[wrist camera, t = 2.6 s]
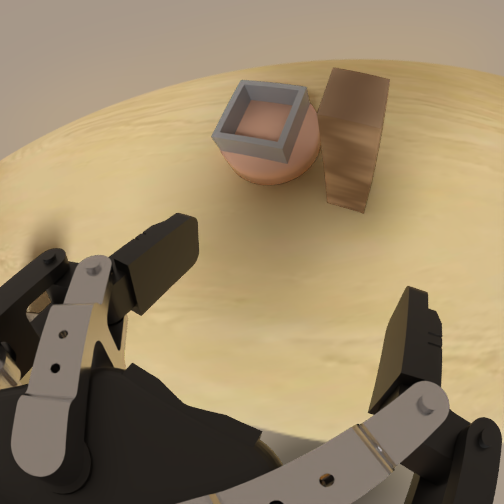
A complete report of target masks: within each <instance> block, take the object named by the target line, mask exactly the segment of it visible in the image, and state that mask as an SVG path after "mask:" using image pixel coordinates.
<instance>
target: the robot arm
mask: <svg viewBox="0 0 504 504" xmlns="http://www.w3.org/2000/svg"><path fill="white" fill-rule="evenodd" d="M198 255H199V241H198V222H197V219H196V218H195V217H191V216H188V215H185V214H181V213H176V214H174V215H173V216H171V217H170V218H169V219H167V220H166V221H163V222H161V223H158V224H155V225H153V226H151V227H150V228H148V229H147V230H145V231H144V232H143V234H140V235H138V236H137V237H135V239H133V240H131V241H130V242H128V243H127V244H126V245H124V246H123V247H122V248H120V249H119V250H118V251H116V252H115V253H113V254H112V255H111V256H109V257H107V256H104V255H94V256H90V257H88V258H86V259H84V260H82V261H81V262H80V263H75V262H69V261H68V259H67V256H66V253H65V251H64V250H62V249H59V248H55V249H50V250H47V251H45V252H44V253H42V254H41V255H39V256H38V257H37V258H35V259H34V260H33V261H32V262H30V263H29V264H28V265H27V266H25V267H24V268H23V269H22V270H20V271H19V272H18V273H17V274H15V275H14V276H13V277H12V278H11V279H9V280H8V281H7V282H6V283H5V284H4V285H2V286H1V287H0V504H351V503H353V502H354V501H355V500H357V499H358V498H360V497H361V496H363V495H364V494H366V493H367V492H368V491H370V490H371V489H372V488H374V487H375V486H376V485H377V484H379V483H380V482H382V481H383V480H384V479H385V478H387V477H388V476H389V475H390V474H391V473H392V472H393V471H394V468H395V467H396V466H397V465H398V464H399V463H400V464H401V465H403V466H405V467H406V468H408V469H409V470H411V471H413V472H414V475H413V479H412V481H411V485H410V488H409V491H408V494H407V497H406V499H405V502H404V504H493V500H494V495H495V489H496V484H497V478H498V472H499V463H500V456H501V446H502V436H501V432H500V429H499V427H498V426H497V424H496V423H495V422H494V421H493V420H491V419H489V418H485V417H483V418H478V419H476V420H475V421H474V422H472V423H469V422H468V421H466V420H465V419H463V418H461V417H460V416H458V415H457V414H455V413H454V412H453V411H451V410H450V409H449V400H448V397H447V395H446V393H445V392H444V390H443V389H442V388H441V376H442V349H441V347H442V338H441V337H442V323H441V321H440V319H439V316H438V314H437V312H436V311H434V310H431V309H428V293H427V292H425V291H422V290H419V289H416V288H413V287H410V286H407V287H406V289H405V290H404V292H403V294H402V297H401V299H400V301H399V303H398V305H397V307H396V309H395V311H394V313H393V315H392V317H391V319H390V321H389V323H388V326H387V329H386V333H385V339H384V344H383V349H382V355H381V360H380V364H379V369H378V374H377V378H376V382H375V387H374V391H373V395H372V399H371V403H370V407H369V410H368V413H370V414H373V416H372V417H371V418H369V419H368V420H366V421H365V422H363V423H362V424H360V425H359V424H356V425H354V426H352V427H351V428H349V429H347V430H346V431H344V432H343V433H341V434H339V435H338V436H336V437H335V438H333V439H331V440H330V441H328V442H326V443H324V444H323V445H321V446H319V447H317V448H316V449H314V450H312V451H310V452H308V453H307V454H305V455H303V456H301V457H299V458H297V459H295V460H293V461H291V462H290V463H287V464H285V465H283V464H282V462H281V461H280V459H279V458H278V456H277V455H276V454H275V453H274V451H273V450H271V449H270V448H269V447H268V446H267V445H266V444H265V443H264V442H262V441H261V440H260V437H261V434H262V431H260V430H258V429H256V428H253V427H251V426H249V425H246V424H244V423H242V422H240V421H238V420H235V419H233V418H231V417H229V416H227V415H223V414H219V413H215V412H210V411H206V410H202V409H198V408H195V407H191V406H188V405H186V404H184V403H183V402H182V401H181V400H179V399H178V398H177V397H176V396H175V395H174V394H173V393H172V392H171V391H170V390H169V389H168V388H167V387H166V386H165V385H164V384H163V383H162V382H161V381H160V380H159V379H158V378H156V377H155V376H153V375H151V374H150V373H148V372H146V371H145V370H143V369H142V368H140V367H138V366H137V365H135V364H134V363H132V364H131V365H130V366H129V367H128V368H127V369H126V365H125V345H126V334H127V325H128V316H127V313H128V312H129V311H130V310H132V311H134V312H135V313H137V314H139V315H141V316H142V315H143V314H144V313H145V312H146V311H147V310H148V309H149V308H150V307H151V306H152V305H153V304H154V303H155V302H156V301H157V300H158V299H159V298H160V297H161V296H162V295H163V294H164V293H165V292H166V291H167V290H168V289H169V288H170V287H171V286H172V285H173V284H174V283H176V282H177V281H178V280H179V279H180V278H181V277H182V276H183V275H184V274H185V273H186V272H187V271H188V270H189V269H190V268H191V267H192V266H193V265H194V264H195V262H196V261H197V258H198ZM45 291H46V292H47V294H48V296H49V298H50V300H51V303H50V304H49V305H48V306H47V307H46V308H45V309H44V310H43V311H42V312H40V313H39V314H38V315H37V316H36V317H35V318H34V319H33V320H32V321H31V322H29V320H28V318H27V316H26V311H27V308H28V306H29V305H30V304H31V303H32V302H33V301H34V300H36V299H37V298H38V297H39V296H40V295H41V294H42V293H43V292H45ZM32 367H33V368H32ZM31 368H32V372H31V376H30V381H29V384H25V385H22V384H21V383H20V382H19V381H20V380H21V379H22V378H23V377H24V375H25V374H26V373H27V372H28V371H29V370H30V369H31Z"/></svg>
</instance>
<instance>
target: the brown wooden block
mask: <svg viewBox="0 0 504 504" xmlns="http://www.w3.org/2000/svg"><path fill="white" fill-rule="evenodd" d="M389 82H390V79H386V78H382V77H378V76H374V75H369V74H365V73H360V72H355V71H350V70H345V69H339V68H333V69H332V72H331V75H330V78H329V81H328V83H327V86H326V89H325V92H324V95H323V98H322V101H321V104H320V107H319V109H318V112H317V118H318V125H319V132H320V139H321V147H322V155H323V164H324V173H325V182H326V193H327V203H331V204H334V205H338V206H341V207H344V208H348V209H351V210H354V211H358V212H361V213H364V211H365V207H366V203H367V199H368V195H369V191H370V187H371V183H372V179H373V175H374V170H375V166H376V161H377V156H378V151H379V145H380V140H381V135H382V129H383V123H384V117H385V111H386V104H387V97H388V90H389Z"/></svg>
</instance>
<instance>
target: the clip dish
mask: <svg viewBox="0 0 504 504" xmlns="http://www.w3.org/2000/svg"><path fill="white" fill-rule="evenodd" d="M211 137H212V139H213V140H214V141H215V143H216V144H217V146H218V147H219V149H220V151H221V153H222V155H223V156H224V157H225V159H226V160H227V162H228V163H229V164H230V166H231V167H232V169H233V170H234V171H235V172H236V173H237V174H238V175H239V176H240V177H242V178H243V179H245V180H247V181H249V182H252V183H255V184H261V185H276V184H281V183H285V182H288V181H291V180H293V179H295V178H297V177H298V176H300V175H302V174H303V173H304V172H306V171H307V170H308V169H309V168H310V167H311V165H312V164H313V163H314V161H315V160H316V158H317V156H318V154H319V151H320V146H321V139H320V132H319V125H318V118H317V113H316V111H315V109H314V107H313V106H312V104H311V103H310V102H309V96H308V91H307V87H303V86H296V85H289V84H281V83H272V82H261V81H249V80H241V81H240V83H239V84H238V86H237V88H236V90H235V92H234V94H233V95H232V97H231V99H230V101H229V103H228V105H227V107H226V109H225V111H224V113H223V114H222V116H221V118H220V120H219V122H218V124H217V126H216V128H215V130H214V132H213V134H212V136H211Z"/></svg>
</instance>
